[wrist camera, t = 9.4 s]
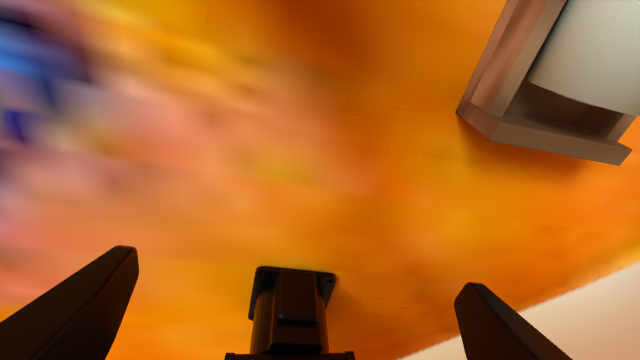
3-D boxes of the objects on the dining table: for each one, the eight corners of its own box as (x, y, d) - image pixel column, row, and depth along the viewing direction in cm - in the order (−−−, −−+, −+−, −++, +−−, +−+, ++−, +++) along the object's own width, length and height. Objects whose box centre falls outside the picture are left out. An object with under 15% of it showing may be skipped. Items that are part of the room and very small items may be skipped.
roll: (590, 96, 18) (667, 129, 13) (506, 74, 18) (557, 101, 13) (719, -95, 13) (894, -136, 9) (610, -127, 13) (737, -184, 9)
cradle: (566, 135, 21) (619, 166, 17) (454, 112, 19) (488, 140, 16) (770, -163, 13) (930, -211, 10) (615, -235, 12) (739, -318, 9)
